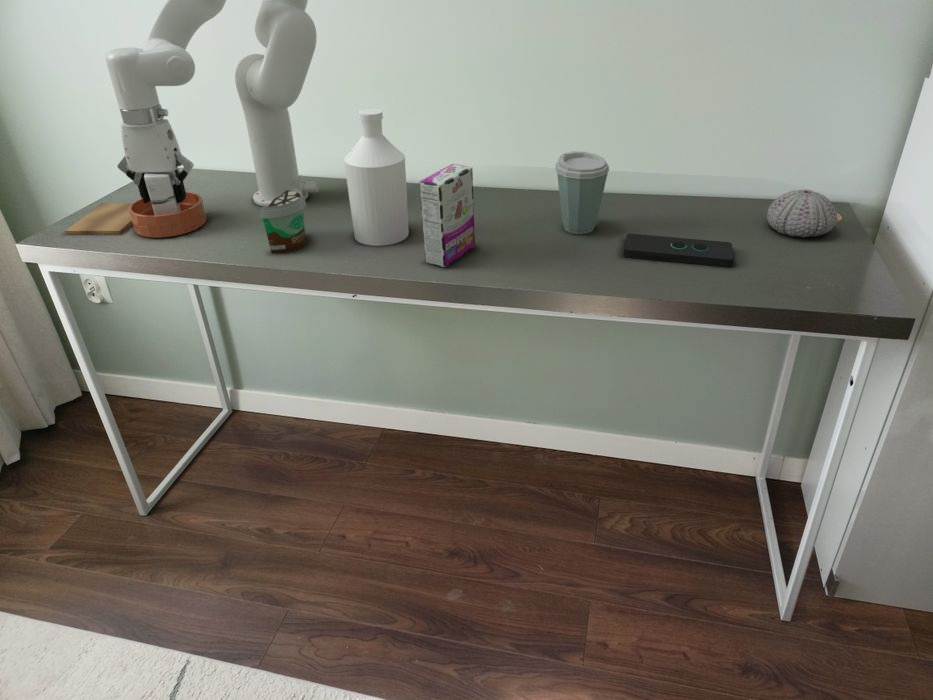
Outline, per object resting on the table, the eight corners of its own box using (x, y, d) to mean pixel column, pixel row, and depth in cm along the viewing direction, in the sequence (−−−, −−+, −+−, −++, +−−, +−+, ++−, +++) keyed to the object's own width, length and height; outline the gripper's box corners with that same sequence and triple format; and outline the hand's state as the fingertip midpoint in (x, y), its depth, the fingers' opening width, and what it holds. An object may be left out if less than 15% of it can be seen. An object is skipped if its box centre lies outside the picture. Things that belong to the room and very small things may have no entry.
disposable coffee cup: (613, 227, 146) (620, 156, 138) (584, 243, 140) (589, 170, 131) (572, 215, 152) (576, 146, 144) (542, 230, 146) (544, 159, 138)
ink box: (183, 229, 149) (169, 175, 143) (158, 232, 148) (143, 178, 142) (182, 215, 156) (169, 163, 150) (159, 218, 155) (144, 166, 148)
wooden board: (152, 206, 162) (151, 203, 161) (120, 234, 148) (119, 230, 148) (102, 206, 163) (101, 203, 162) (66, 234, 149) (64, 230, 149)
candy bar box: (454, 242, 142) (451, 162, 133) (475, 247, 139) (474, 166, 130) (423, 263, 134) (417, 180, 125) (444, 269, 131) (441, 184, 122)
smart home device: (733, 259, 128) (623, 249, 133) (732, 267, 129) (622, 257, 134) (732, 241, 135) (627, 232, 140) (730, 249, 136) (626, 240, 141)
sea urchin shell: (760, 236, 141) (768, 198, 137) (767, 212, 151) (775, 176, 147) (832, 246, 136) (843, 207, 132) (834, 222, 146) (844, 185, 142)
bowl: (216, 212, 158) (211, 191, 155) (191, 238, 146) (185, 216, 143) (152, 212, 159) (146, 191, 156) (122, 238, 146) (115, 216, 144)
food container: (297, 258, 137) (289, 209, 131) (268, 256, 138) (258, 208, 132) (320, 233, 147) (313, 187, 141) (293, 231, 148) (285, 185, 142)
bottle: (379, 251, 139) (366, 123, 125) (341, 235, 145) (325, 113, 132) (421, 233, 146) (414, 110, 132) (383, 219, 153) (373, 100, 139)
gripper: (191, 110, 142) (210, 194, 152) (109, 110, 143) (133, 194, 153) (177, 120, 136) (198, 207, 146) (90, 120, 137) (117, 207, 147)
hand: (164, 200), depth 149 cm, fingers closed on ink box, 6 cm apart
